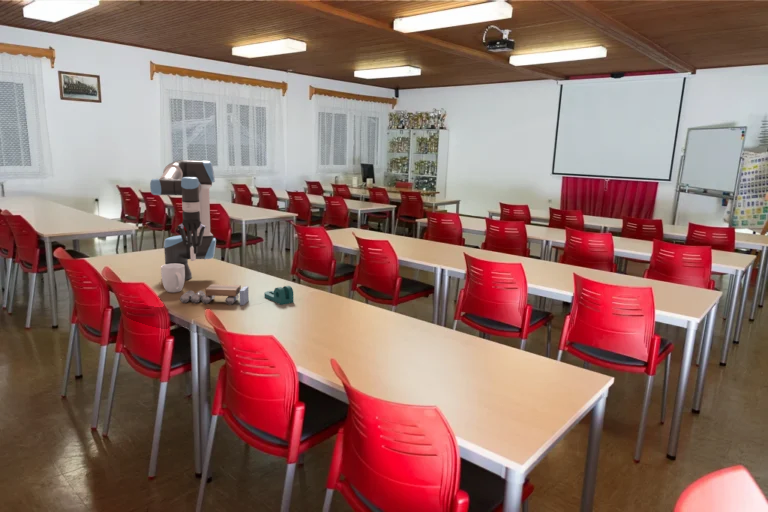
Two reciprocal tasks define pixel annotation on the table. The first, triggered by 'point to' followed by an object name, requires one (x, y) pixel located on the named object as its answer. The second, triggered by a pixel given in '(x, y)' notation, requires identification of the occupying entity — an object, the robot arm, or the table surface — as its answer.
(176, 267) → the mug
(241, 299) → the stop block
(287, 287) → the bracket
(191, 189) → the robot arm
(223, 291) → the slab
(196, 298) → the grey ball cluster
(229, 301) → the roller
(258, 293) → the table surface
